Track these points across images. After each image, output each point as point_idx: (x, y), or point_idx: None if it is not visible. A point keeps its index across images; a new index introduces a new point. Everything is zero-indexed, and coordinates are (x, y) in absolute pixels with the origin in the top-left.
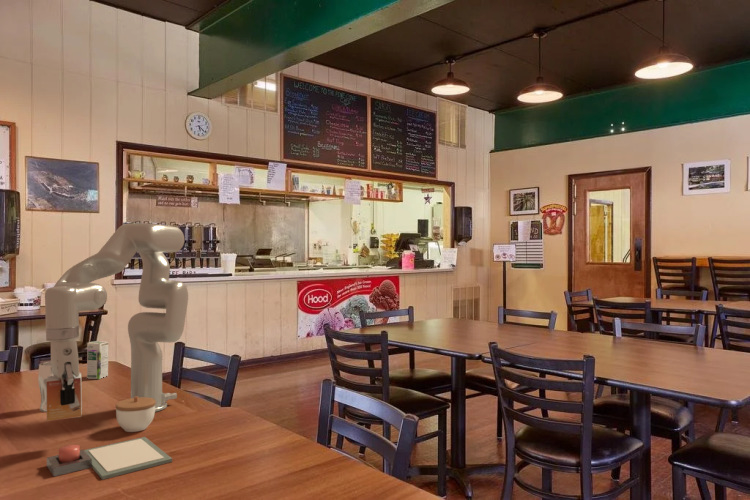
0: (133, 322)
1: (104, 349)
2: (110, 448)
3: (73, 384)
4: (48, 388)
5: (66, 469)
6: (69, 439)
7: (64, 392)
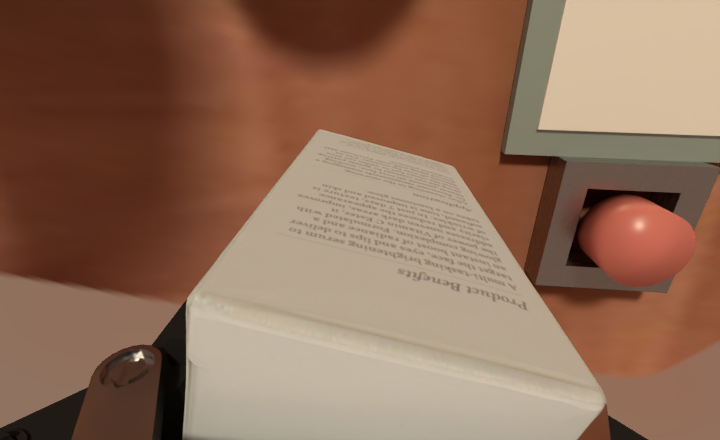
0: None
1: None
2: (603, 37)
3: (608, 426)
4: None
5: None
6: (281, 137)
7: None
